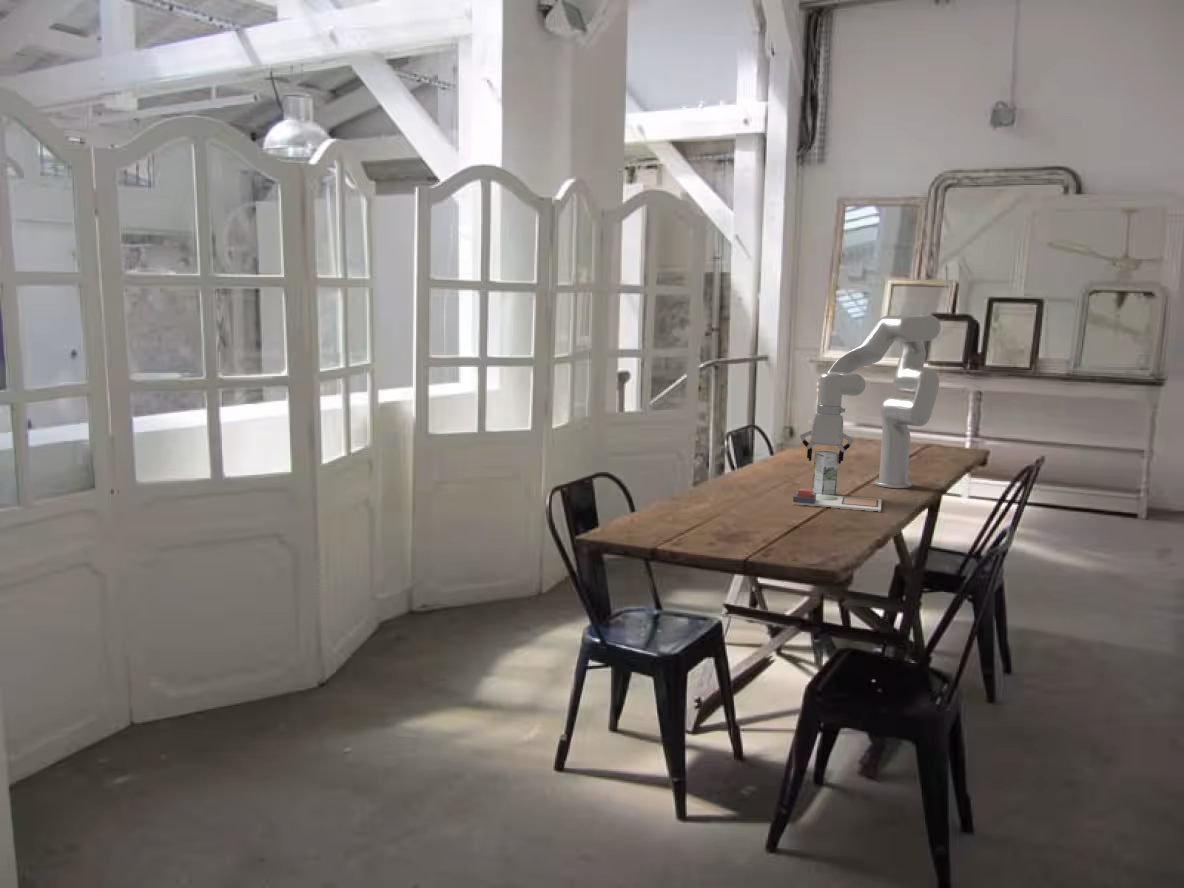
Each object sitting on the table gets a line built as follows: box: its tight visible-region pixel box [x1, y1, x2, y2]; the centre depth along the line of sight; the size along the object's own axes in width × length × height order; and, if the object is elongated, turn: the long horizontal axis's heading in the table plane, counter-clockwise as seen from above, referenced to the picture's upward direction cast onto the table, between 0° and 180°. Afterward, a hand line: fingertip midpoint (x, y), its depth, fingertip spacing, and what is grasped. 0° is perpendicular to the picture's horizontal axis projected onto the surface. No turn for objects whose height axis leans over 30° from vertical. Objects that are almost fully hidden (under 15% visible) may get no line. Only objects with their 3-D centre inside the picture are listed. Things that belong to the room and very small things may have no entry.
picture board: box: [791, 492, 882, 513], centre depth 314 cm, size 16×27×3 cm, turn 73°
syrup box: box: [811, 450, 839, 496], centre depth 327 cm, size 6×6×14 cm
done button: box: [797, 487, 813, 497], centre depth 313 cm, size 4×4×2 cm
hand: (824, 461), depth 326 cm, fingers open, 9 cm apart
